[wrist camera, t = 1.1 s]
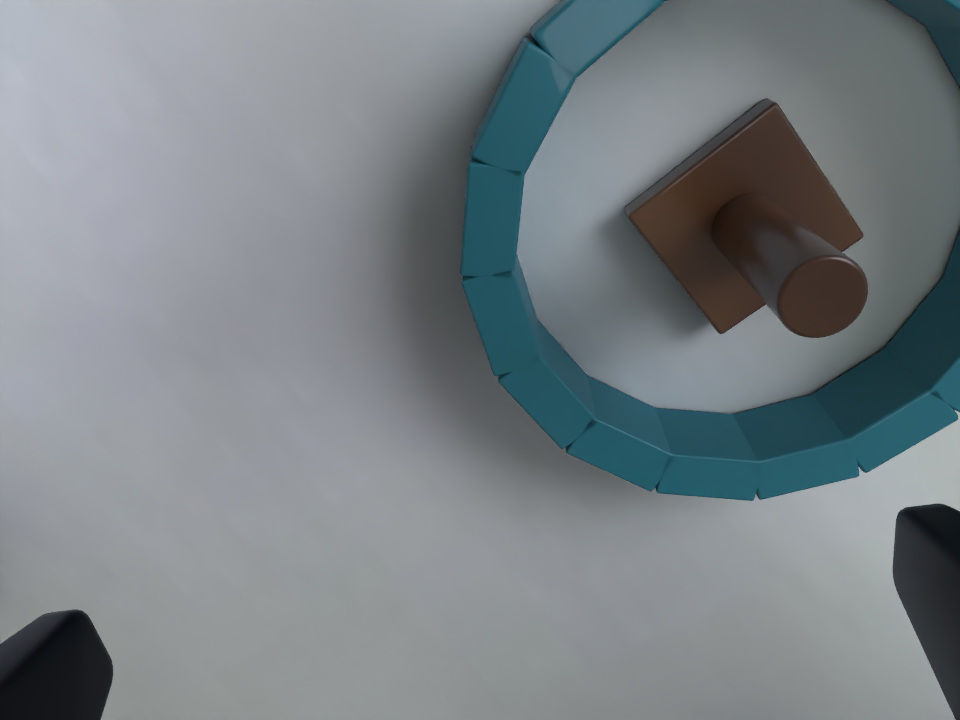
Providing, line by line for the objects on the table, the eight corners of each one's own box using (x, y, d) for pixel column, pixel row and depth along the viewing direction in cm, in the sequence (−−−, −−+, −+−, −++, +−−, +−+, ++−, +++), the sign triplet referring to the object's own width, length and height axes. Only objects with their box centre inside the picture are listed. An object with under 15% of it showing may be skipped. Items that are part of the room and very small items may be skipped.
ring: (667, 525, 23) (684, 581, 20) (356, 186, 18) (336, 211, 16) (1114, 249, 19) (1195, 283, 16) (847, -261, 14) (908, -306, 12)
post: (712, 324, 20) (784, 433, 15) (622, 208, 18) (666, 285, 14) (852, 227, 19) (980, 311, 14) (765, 96, 17) (871, 136, 12)
